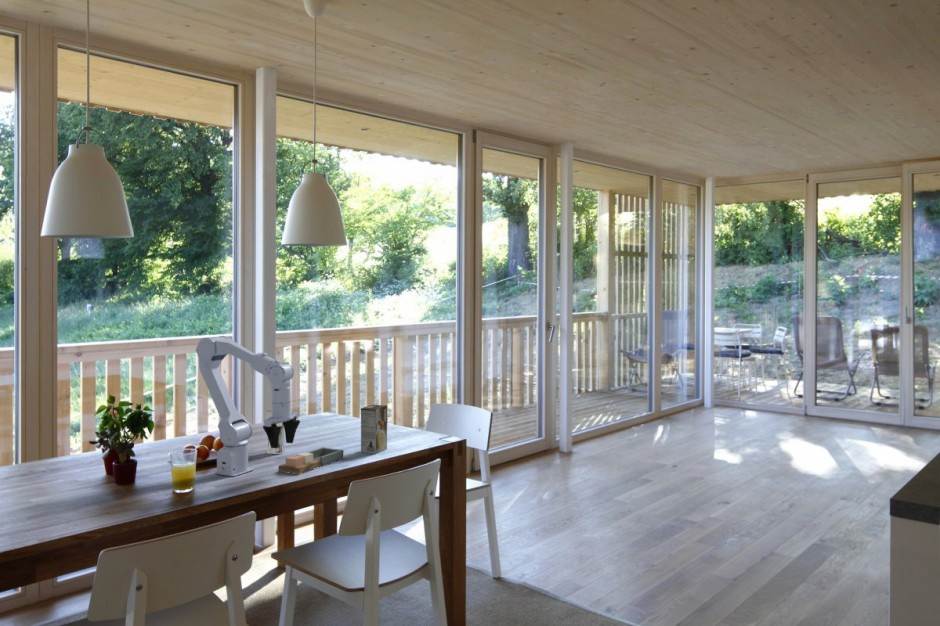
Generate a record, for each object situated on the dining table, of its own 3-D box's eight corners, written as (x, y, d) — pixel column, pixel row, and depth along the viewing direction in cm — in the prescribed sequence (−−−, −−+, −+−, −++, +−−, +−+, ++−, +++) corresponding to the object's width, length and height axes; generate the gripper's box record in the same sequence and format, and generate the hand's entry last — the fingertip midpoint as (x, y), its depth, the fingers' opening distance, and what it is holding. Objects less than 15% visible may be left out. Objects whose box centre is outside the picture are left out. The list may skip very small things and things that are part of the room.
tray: (322, 466, 243) (322, 457, 243) (300, 463, 247) (300, 454, 247) (343, 458, 254) (343, 450, 254) (322, 455, 258) (322, 447, 258)
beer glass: (280, 455, 258) (280, 413, 257) (262, 454, 259) (262, 412, 258) (289, 451, 265) (289, 409, 264) (271, 450, 266) (271, 408, 265)
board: (298, 474, 233) (298, 468, 233) (278, 471, 236) (278, 465, 236) (321, 466, 243) (321, 460, 243) (302, 463, 247) (302, 457, 247)
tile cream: (305, 463, 239) (305, 456, 239) (295, 462, 241) (295, 454, 240) (313, 461, 242) (313, 453, 242) (303, 459, 244) (303, 452, 244)
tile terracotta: (295, 467, 234) (295, 459, 234) (285, 465, 236) (285, 458, 236) (303, 464, 238) (303, 456, 238) (293, 462, 240) (293, 455, 240)
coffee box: (371, 447, 272) (372, 404, 271) (387, 448, 270) (387, 405, 269) (360, 452, 263) (360, 408, 263) (376, 454, 261) (376, 409, 260)
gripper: (277, 406, 222) (277, 451, 222) (306, 399, 235) (306, 441, 236) (258, 405, 225) (259, 449, 225) (287, 398, 238) (288, 440, 239)
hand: (282, 445), depth 231 cm, fingers open, 7 cm apart
